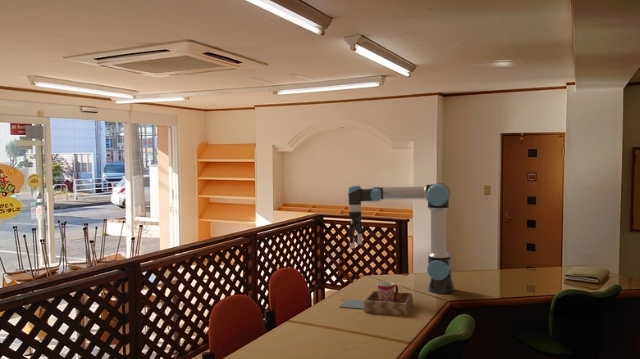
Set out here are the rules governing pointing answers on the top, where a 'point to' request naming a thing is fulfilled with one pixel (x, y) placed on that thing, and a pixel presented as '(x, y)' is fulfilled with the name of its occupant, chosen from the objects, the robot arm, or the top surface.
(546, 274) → the top surface
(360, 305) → the mat
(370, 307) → the crate
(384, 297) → the mug
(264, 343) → the top surface
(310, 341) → the top surface
